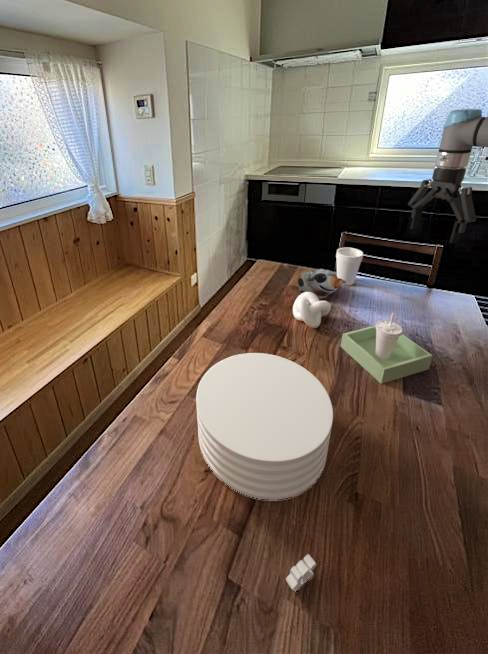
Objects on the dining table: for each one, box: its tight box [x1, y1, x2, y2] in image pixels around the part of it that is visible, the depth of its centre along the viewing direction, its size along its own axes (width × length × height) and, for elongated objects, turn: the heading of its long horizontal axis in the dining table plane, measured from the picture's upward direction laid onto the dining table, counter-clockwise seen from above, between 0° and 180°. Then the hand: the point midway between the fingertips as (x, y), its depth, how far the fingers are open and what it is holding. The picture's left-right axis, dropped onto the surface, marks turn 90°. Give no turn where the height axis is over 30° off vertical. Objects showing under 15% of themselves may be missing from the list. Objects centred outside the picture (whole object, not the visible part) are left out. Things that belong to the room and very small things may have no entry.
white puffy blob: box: [292, 292, 332, 329], centre depth 111 cm, size 11×12×9 cm
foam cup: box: [335, 246, 364, 286], centre depth 133 cm, size 10×9×13 cm
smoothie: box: [374, 312, 403, 360], centre depth 92 cm, size 6×6×14 cm
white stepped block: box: [285, 553, 318, 593], centre depth 52 cm, size 5×1×4 cm, turn 120°
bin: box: [340, 324, 434, 384], centre depth 95 cm, size 16×16×5 cm
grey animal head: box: [296, 268, 346, 301], centre depth 125 cm, size 15×12×14 cm
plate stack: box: [195, 352, 334, 502], centre depth 74 cm, size 28×28×12 cm
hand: (433, 235), depth 107 cm, fingers open, 13 cm apart
